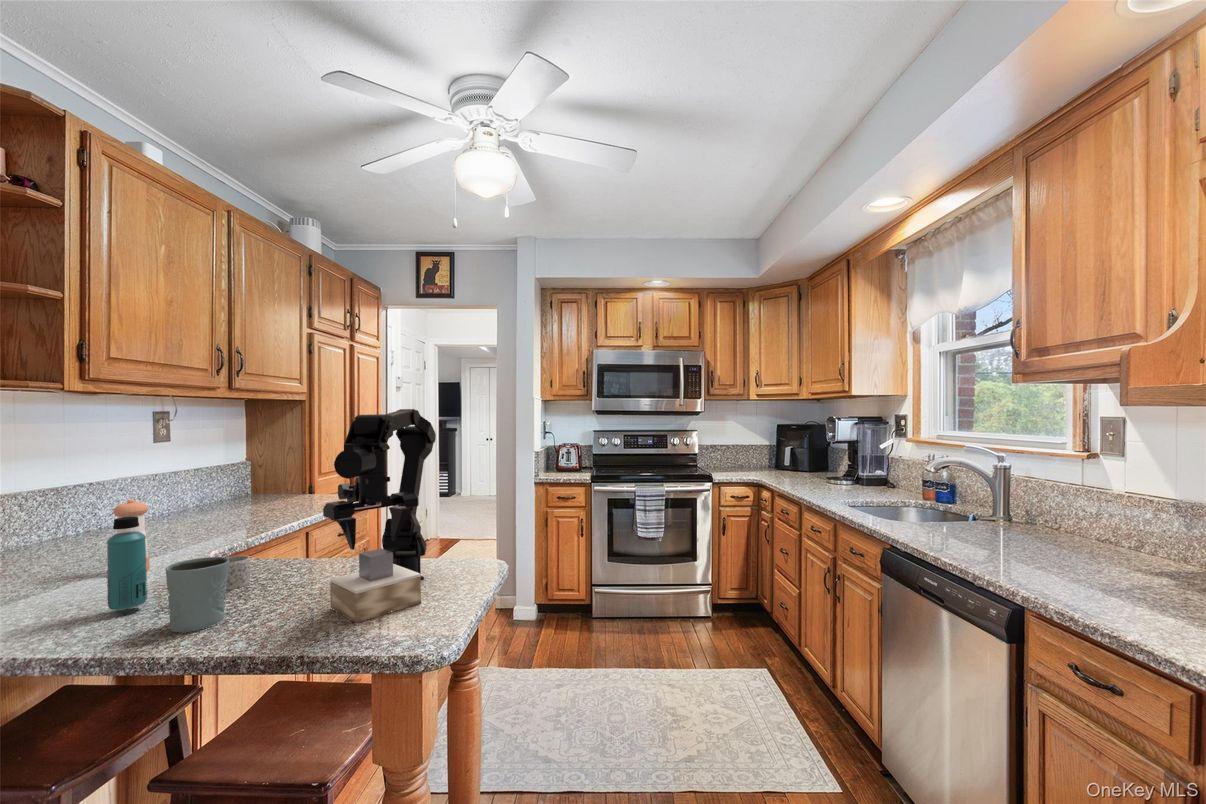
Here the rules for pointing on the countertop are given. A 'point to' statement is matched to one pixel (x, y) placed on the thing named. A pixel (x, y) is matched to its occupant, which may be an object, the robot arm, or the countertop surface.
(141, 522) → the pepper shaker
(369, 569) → the block
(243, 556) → the mug
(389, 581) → the lid
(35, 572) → the countertop surface
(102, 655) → the countertop surface
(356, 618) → the box
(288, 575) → the countertop surface
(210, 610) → the gray green planter pot
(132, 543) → the beverage bottle
